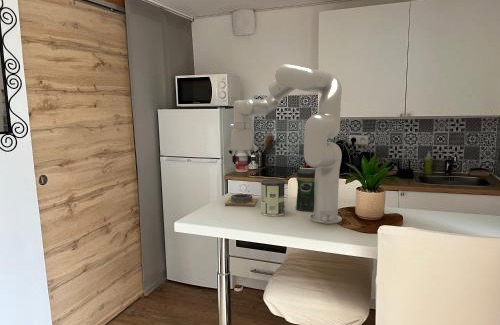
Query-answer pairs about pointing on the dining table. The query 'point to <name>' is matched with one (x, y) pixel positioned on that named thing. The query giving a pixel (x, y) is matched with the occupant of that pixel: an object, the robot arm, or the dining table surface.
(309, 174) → the coffee jar
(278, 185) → the coffee can
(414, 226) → the dining table surface
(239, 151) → the pill bottle
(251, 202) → the dish on wooden board
